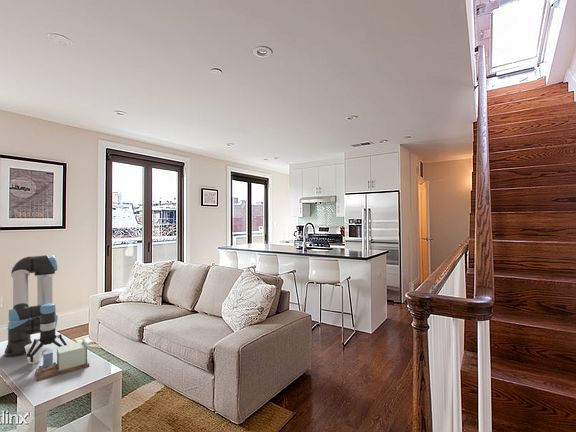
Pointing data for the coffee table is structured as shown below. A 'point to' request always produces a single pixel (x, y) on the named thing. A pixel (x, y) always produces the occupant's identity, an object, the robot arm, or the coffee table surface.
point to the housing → (72, 355)
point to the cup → (38, 353)
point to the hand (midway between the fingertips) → (47, 363)
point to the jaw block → (47, 358)
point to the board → (55, 370)
